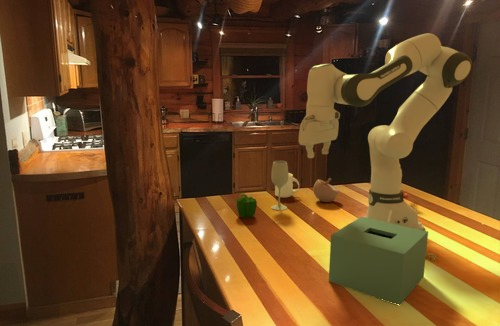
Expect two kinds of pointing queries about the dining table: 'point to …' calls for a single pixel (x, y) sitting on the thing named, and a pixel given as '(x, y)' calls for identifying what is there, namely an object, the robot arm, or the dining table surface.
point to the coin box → (378, 258)
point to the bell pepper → (246, 206)
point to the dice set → (432, 256)
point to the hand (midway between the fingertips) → (318, 155)
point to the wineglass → (279, 179)
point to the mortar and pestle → (325, 191)
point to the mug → (287, 187)
